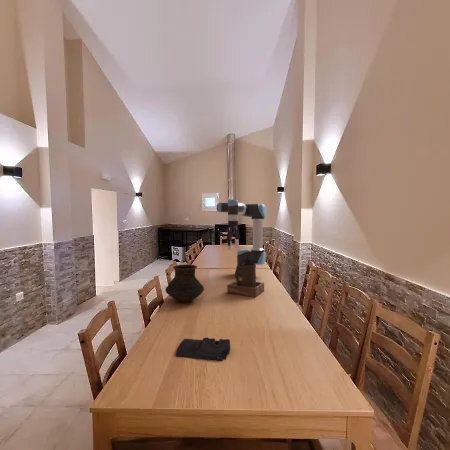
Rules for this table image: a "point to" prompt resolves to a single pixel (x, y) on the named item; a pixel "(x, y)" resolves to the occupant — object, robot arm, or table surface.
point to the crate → (245, 289)
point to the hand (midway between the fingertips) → (233, 249)
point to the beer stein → (247, 275)
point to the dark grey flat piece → (204, 349)
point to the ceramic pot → (184, 284)
